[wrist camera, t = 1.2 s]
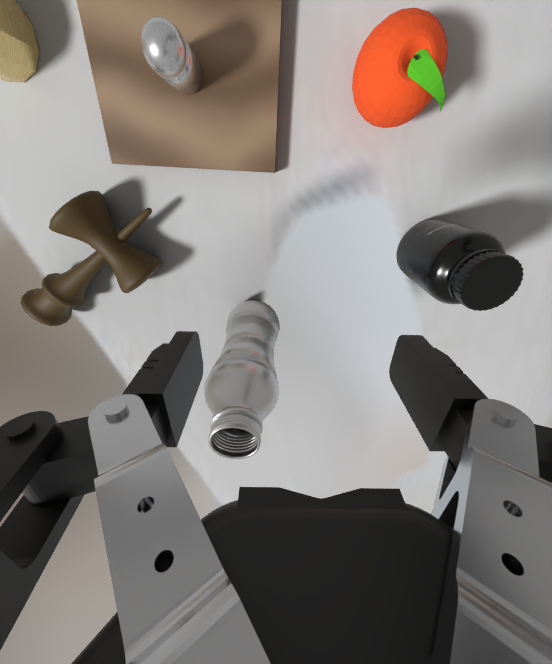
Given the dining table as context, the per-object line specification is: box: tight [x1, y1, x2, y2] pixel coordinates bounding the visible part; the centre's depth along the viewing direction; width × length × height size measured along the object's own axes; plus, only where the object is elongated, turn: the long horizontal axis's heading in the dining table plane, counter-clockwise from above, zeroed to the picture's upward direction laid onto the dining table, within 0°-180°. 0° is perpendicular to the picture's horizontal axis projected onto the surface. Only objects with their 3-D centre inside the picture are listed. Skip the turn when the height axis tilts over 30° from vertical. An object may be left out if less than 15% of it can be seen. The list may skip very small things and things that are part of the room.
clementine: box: [352, 8, 447, 128], centre depth 22 cm, size 8×7×7 cm
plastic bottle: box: [204, 300, 279, 459], centre depth 28 cm, size 6×7×20 cm
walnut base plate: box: [77, 0, 282, 173], centre depth 24 cm, size 14×16×2 cm
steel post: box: [141, 17, 203, 96], centre depth 20 cm, size 3×3×6 cm
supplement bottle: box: [397, 219, 523, 311], centre depth 27 cm, size 7×7×12 cm
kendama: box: [21, 191, 162, 326], centre depth 31 cm, size 6×10×20 cm
